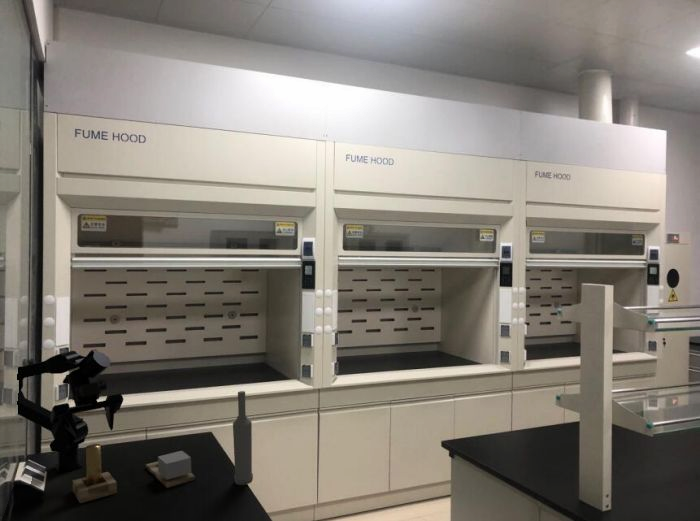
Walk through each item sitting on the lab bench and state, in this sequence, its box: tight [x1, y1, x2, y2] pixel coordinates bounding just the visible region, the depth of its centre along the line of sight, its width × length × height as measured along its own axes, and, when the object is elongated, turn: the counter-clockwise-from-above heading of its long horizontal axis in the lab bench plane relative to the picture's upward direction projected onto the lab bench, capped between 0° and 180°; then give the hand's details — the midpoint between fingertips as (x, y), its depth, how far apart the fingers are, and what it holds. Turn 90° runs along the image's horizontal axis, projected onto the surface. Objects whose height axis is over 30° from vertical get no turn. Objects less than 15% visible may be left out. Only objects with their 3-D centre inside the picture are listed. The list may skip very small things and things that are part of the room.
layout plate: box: [145, 461, 196, 489], centre depth 157 cm, size 18×8×1 cm, turn 38°
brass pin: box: [85, 443, 103, 487], centre depth 145 cm, size 4×4×12 cm
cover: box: [157, 450, 192, 480], centre depth 154 cm, size 7×7×4 cm
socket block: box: [72, 471, 118, 504], centre depth 145 cm, size 9×9×3 cm
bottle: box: [232, 390, 254, 486], centre depth 150 cm, size 5×5×25 cm
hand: (95, 433), depth 152 cm, fingers open, 9 cm apart
